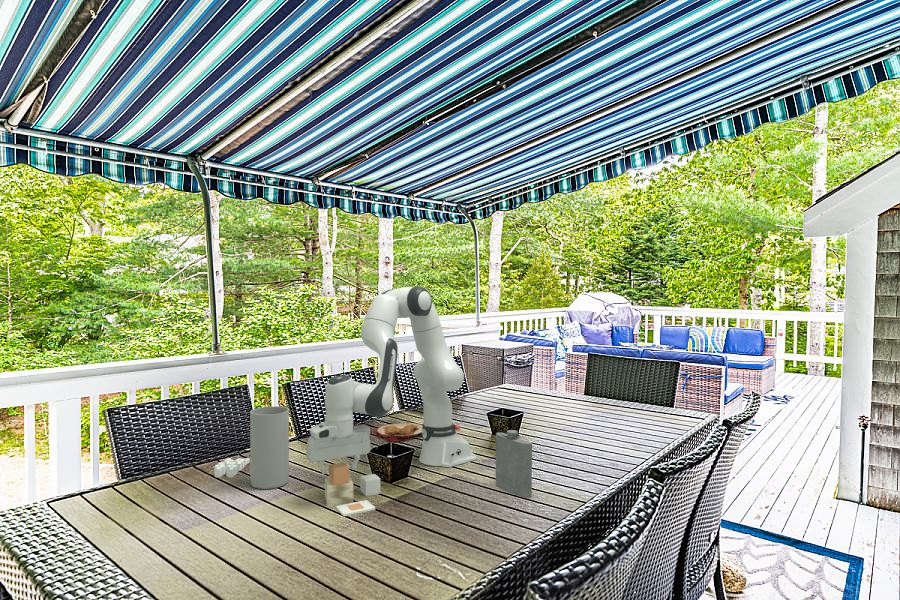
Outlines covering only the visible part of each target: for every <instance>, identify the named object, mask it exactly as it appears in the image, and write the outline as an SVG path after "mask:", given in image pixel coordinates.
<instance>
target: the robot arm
mask: <svg viewBox="0 0 900 600" xmlns="http://www.w3.org/2000/svg"><path fill="white" fill-rule="evenodd" d="M400 318H401V319H407V318H409V320H410V326H411V331H412V335H413V337H414V338H413V339H414V342H415V346H416V350H417V352H418V353H419V354H420V356H421V357H422V359H420V360H419V361H417V362H416V364H415V365H414V368H413V376H414V378H415V380H416V381H417V383H418V386H419V391H420V394H421V398H422V405H423V406H422V407H423V423H422V433H421V436H422V443H421V444H422V446H421V452H420V455H419V459H418V461H419V462H420V463H422V464H424V465H426V466H427V465H428V466H432V467H444V468H451V467H455V466H459V465H463V464H465V463H466V464H467V463H469V462H472V461H476V460H477V456H476V454H475V453H473V452H472V450H471V446H470V444H469V442H468V440H466V439H465V438H463V436H461V435H460V434H458V433H457V432H456V431H459V432H460V431H461V429H462V427H461V425H459V424H454V423H453V404H452V401H451V400H450V397H449V396H448V392H455V391H458V390H459V389H460V388H461V387H462V385H463V383H464V380H465V373H464V371H463V369H462V368H461V367H460V366H459V364H458V363H457V362H456V360H455V359H454V357H453V355H452V353H451V351H450V350H449V348H448V345H447V343H446V339H445V336H444V332H443V328H442V324H441V320H440V317H439V315H438V312H437V309H436V307H435V304H434V303H433V298H432V296H431V293H430V291H429V290H428V289H427V288H425V287H422V286H418V285H417V286H402V287H399V288H398V287H397V288H394V289H387V290H384V291H383V292H382V293H380V294H378V295H376V296H375V297H374V298H373V299H372V301H371V303H370V305H369V306H368V309H367V312H366V314H365V316H364V319H363V322H362V326H361V329H360V330H361V331H360V337H361V339H362V342H363V343H364V345H365V346H366V347H368V348H369V349H370V350H371V351H374V352H375V353H377V354H378V357H379V359H380V361H379V369H378V376H377V381H376V383H375V384H371V383H364V382H358V381H356V380H354V379H352V377H351V376H350V375H347V374H346V375H345V374H342V375H341V374H340V375H335V376H333V377H330V378H329V379H328V380H327V382H326V386H325V390H324V391H325V393H324V407H325V411H326V412H325V416H324V421H323V422H320V423H318V424H317V425H314V426H312V427H311V428H310V429H309V433H310V436H309V437H308V439H307V442H306V449H305V450H306V451H305V454H306V455H305V457H306V459H307V460H308V461H309V462H310V463H316V462H317V463H318V465H319V466H320V468H321V471H320V472H321V474H322V475H328V474H329V467H327V466H324V464H325V461H328V460H329V461H330V460H335V459H340V458H341V459H342V458H347V457H354V459H353V460H352V462H350V463H349V464H350V465H349V469H351V470H356V469H357V465H358V462H359V461H360V458H361V455H366V454H367V455H368V454H369V453H370V452H371V449H372V447H371V439H370V436H371V433H370V431H371V427H370V426H368V425H367V424H361V425H359V424H357V425H354V414H353V413H358V414H361V415H362V414H363V415H367V416H372V417H375V418H383V417H384V416H386V415H387V414H388V413H389V412H390V411H391V409H392V408H393V406H394V388H395V387H394V385H395V378H396V377H395V376H396V369H397V362H398V351H399V348H398V344H397V341H396V340H395V337H394V336H395V335H394V334H395V329H396V328H397V327H396V326H397V322H398V319H400Z"/></svg>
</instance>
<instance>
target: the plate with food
mask: <svg viewBox="0 0 900 600" xmlns="http://www.w3.org/2000/svg"><path fill="white" fill-rule="evenodd" d="M422 426H423V424H419V423H412V422H409V421H406V422H403V423H392V424H391V423H390V424H384V425H382V426H378V427H376V429H374V430H370V434H375V435H376V436H375V435H374V437H375V438H378V439H383V440H384V441H385V442H391V443H397V442H398V443H399V442H401V441H403V442H406V441H407V440H410V439H417V438H416V437H417V436H415V435H419V434H422Z"/></svg>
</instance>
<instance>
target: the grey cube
mask: <svg viewBox="0 0 900 600" xmlns="http://www.w3.org/2000/svg"><path fill="white" fill-rule="evenodd" d="M359 483H360V489H359V490H360V493H362V494H363V496H365V497H368V496H369V497H370V496H374V495H379V494H381V478H380V477H379V476H378V475H377V474H376V473H372V474H371V473H370V474H368V475H366V474H365V475H361V476H360V482H359Z"/></svg>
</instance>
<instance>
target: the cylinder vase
mask: <svg viewBox="0 0 900 600" xmlns="http://www.w3.org/2000/svg"><path fill="white" fill-rule="evenodd" d="M249 414H250V416H249V417H250V422H249V423H250V424H249V425H250V429H249V431H250V434H249V435H250V437H249V439H250V440H249V441H250V442H249V443H250V445H249V446H250V451H249V452H250V454H249V455H250V457H249V458H250V462H249V463H250V475H249V476H250V485H251V487H253V488H255V489H259V490H272V489H277V488H281V487H283V486H285V485H287V484H288V482H289V480H290V409H289V408H288V407H285V406H263V407H257V408H254V409H251V410H250V413H249Z"/></svg>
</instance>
